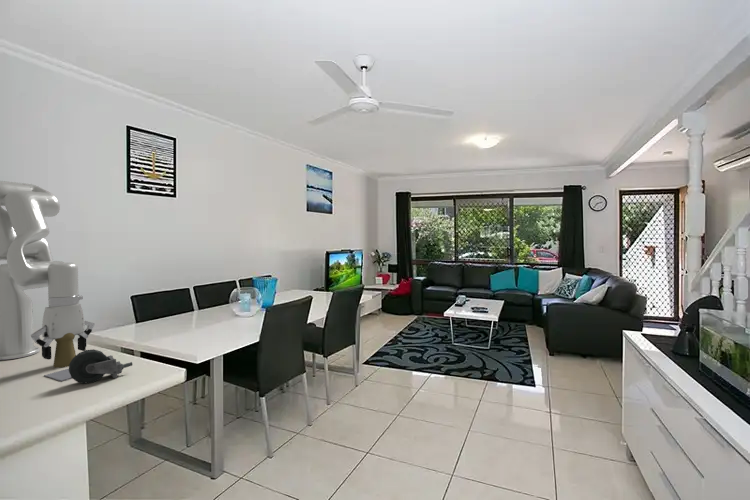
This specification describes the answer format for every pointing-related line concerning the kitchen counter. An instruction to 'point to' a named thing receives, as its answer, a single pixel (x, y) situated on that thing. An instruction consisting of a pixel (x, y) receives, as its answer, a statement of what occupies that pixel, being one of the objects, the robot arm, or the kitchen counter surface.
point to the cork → (64, 351)
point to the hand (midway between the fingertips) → (65, 354)
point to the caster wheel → (94, 366)
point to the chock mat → (60, 375)
